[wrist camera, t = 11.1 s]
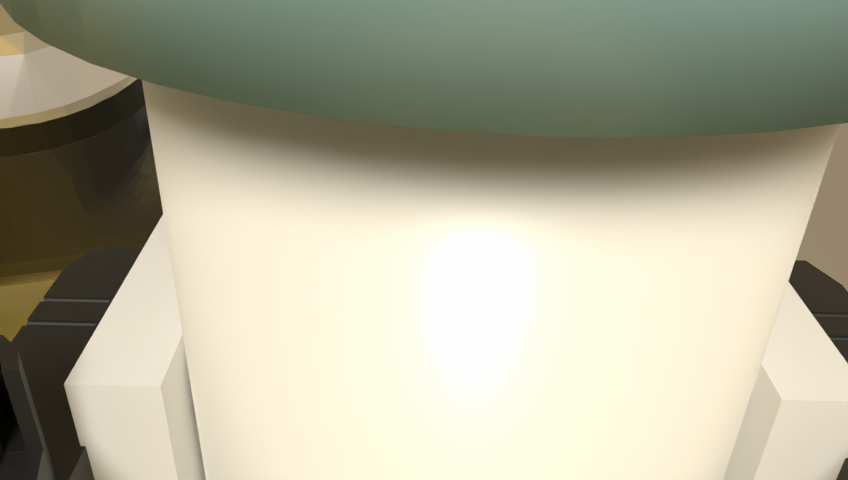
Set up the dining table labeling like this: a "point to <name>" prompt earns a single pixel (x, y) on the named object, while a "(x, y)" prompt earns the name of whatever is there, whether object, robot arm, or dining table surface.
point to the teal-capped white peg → (475, 221)
